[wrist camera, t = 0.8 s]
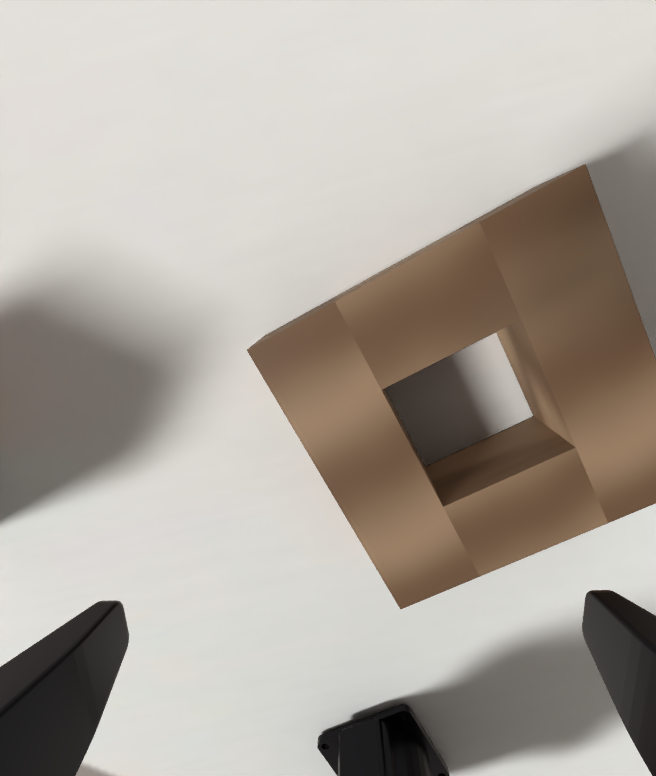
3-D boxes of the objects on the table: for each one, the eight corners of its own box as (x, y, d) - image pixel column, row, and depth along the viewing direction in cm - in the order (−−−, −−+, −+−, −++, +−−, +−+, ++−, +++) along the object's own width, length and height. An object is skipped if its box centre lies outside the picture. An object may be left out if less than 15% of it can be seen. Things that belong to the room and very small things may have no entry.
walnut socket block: (637, 447, 22) (700, 484, 18) (391, 555, 24) (400, 609, 20) (535, 186, 19) (585, 164, 15) (264, 336, 21) (246, 350, 17)
